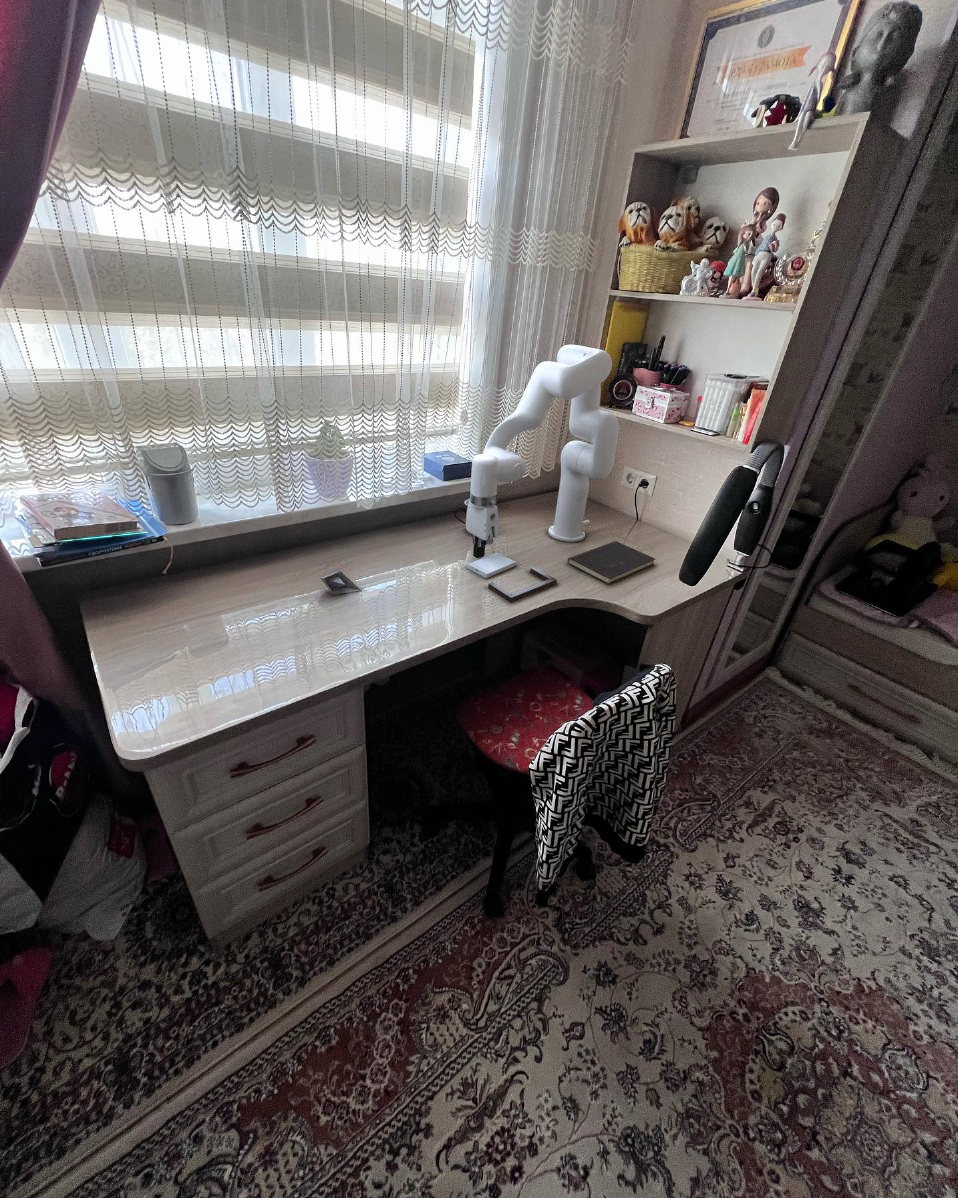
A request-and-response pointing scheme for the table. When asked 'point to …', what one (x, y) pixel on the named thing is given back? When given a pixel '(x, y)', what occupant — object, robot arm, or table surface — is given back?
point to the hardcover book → (611, 562)
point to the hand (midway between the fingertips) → (478, 556)
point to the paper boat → (339, 583)
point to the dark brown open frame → (527, 591)
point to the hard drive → (491, 565)
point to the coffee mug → (463, 510)
